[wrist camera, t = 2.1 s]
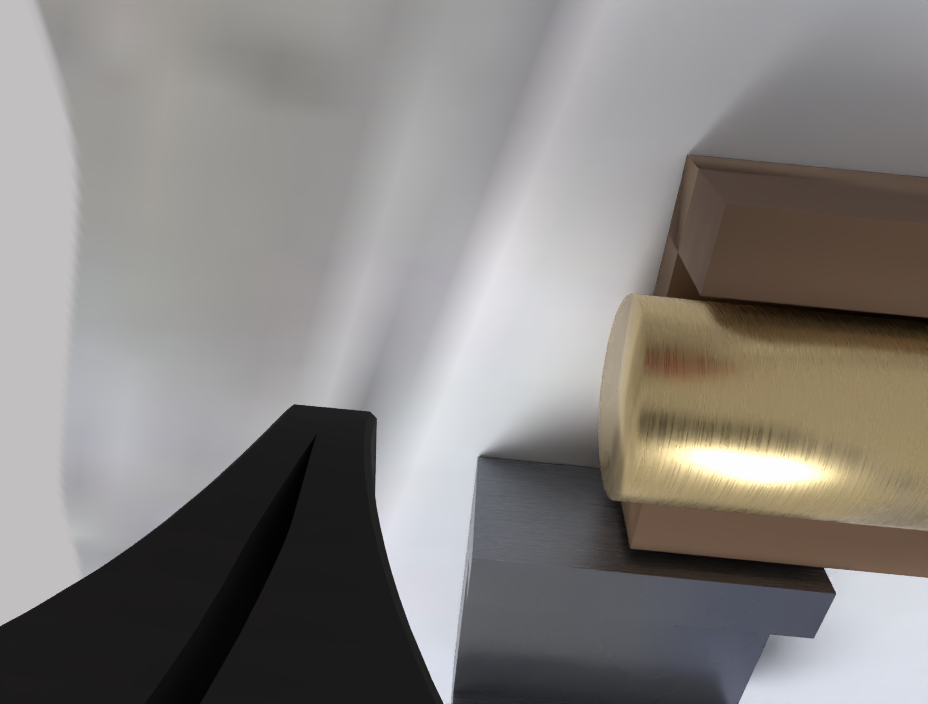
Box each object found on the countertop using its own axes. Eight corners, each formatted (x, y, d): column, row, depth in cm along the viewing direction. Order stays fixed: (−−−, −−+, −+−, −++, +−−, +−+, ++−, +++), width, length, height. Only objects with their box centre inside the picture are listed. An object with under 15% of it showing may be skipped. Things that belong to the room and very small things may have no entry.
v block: (701, 687, 23) (731, 801, 20) (453, 663, 23) (445, 773, 20) (783, 486, 19) (836, 593, 16) (477, 456, 19) (472, 558, 16)
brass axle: (1212, 317, 15) (1427, 437, 11) (1106, 468, 17) (1260, 609, 13) (625, 260, 15) (660, 363, 11) (591, 418, 17) (613, 545, 13)
